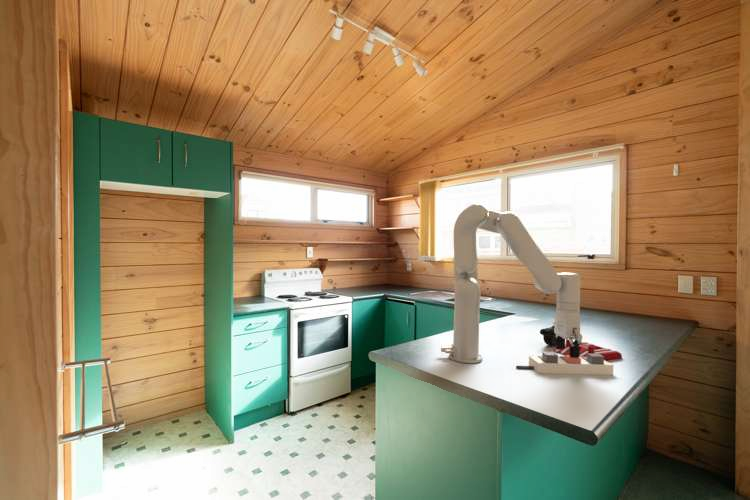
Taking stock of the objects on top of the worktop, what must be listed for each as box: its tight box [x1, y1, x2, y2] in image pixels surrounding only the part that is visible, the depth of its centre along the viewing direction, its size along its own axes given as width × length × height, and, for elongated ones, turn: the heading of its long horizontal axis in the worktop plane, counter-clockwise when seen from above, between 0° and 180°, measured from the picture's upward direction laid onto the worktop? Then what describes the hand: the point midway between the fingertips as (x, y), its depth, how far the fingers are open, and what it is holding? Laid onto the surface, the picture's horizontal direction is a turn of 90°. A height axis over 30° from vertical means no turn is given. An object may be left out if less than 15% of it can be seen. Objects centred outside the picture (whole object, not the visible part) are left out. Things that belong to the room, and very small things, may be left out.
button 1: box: [541, 351, 559, 363], centre depth 127 cm, size 4×3×3 cm
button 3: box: [587, 353, 604, 365], centre depth 127 cm, size 4×3×3 cm
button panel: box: [515, 355, 614, 376], centre depth 129 cm, size 32×8×4 cm, turn 89°
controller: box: [539, 322, 556, 347], centre depth 159 cm, size 4×12×10 cm, turn 122°
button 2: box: [565, 355, 581, 364], centre depth 127 cm, size 4×3×3 cm
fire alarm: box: [552, 339, 623, 362], centre depth 147 cm, size 16×6×20 cm
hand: (567, 352), depth 131 cm, fingers open, 9 cm apart
